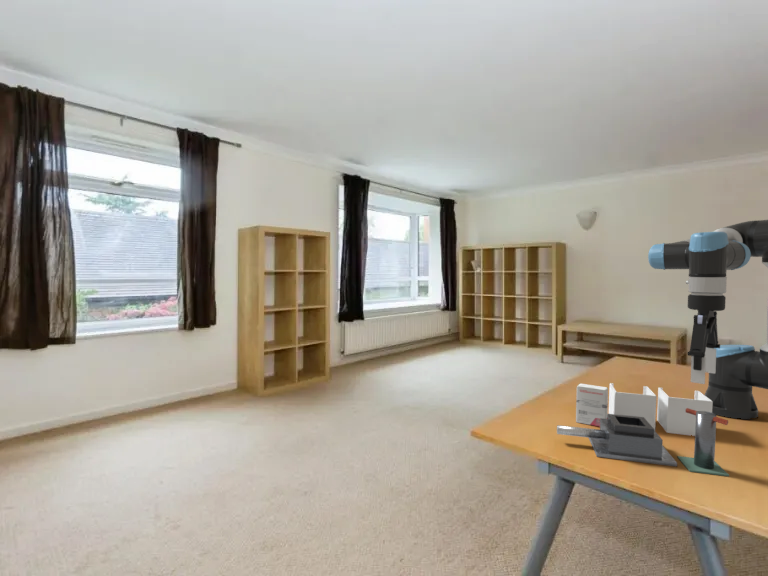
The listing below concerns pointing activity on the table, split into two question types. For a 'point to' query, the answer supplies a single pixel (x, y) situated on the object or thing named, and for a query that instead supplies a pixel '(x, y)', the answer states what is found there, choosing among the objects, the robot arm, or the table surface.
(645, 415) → the brackets
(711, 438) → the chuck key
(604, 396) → the ink box
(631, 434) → the block
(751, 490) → the table surface
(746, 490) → the table surface
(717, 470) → the rubber mat
